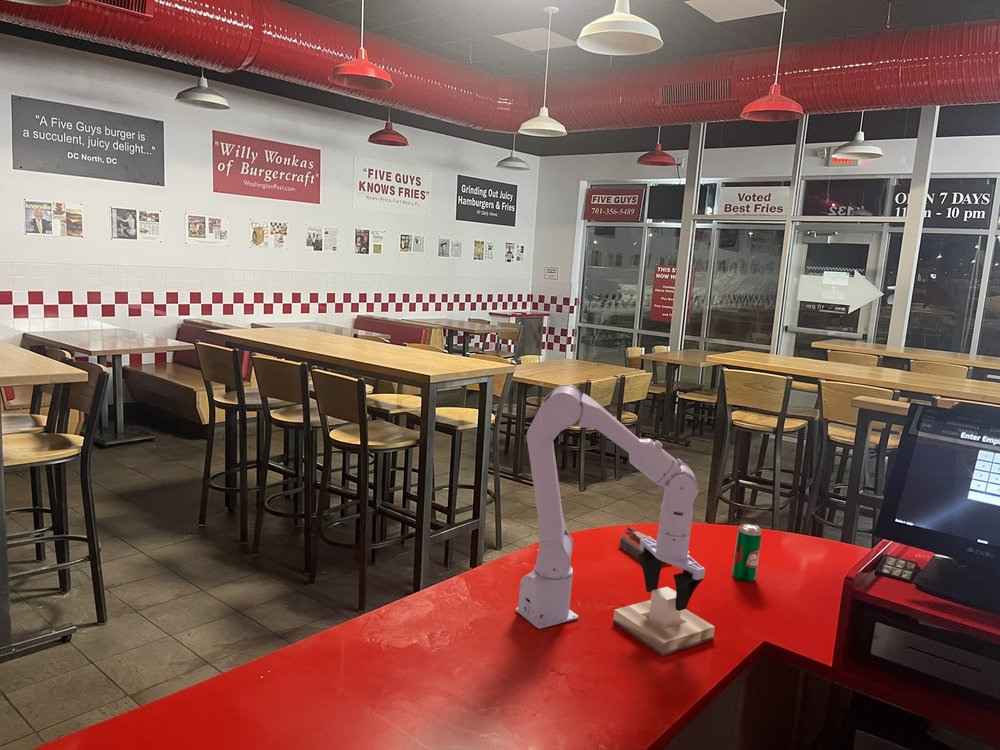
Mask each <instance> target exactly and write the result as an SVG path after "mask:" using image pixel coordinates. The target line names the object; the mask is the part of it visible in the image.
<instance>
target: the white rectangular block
mask: <svg viewBox="0 0 1000 750" xmlns="http://www.w3.org/2000/svg"><path fill="white" fill-rule="evenodd" d="M650 600H651V603H650V612H649V620H651V621H652V622H654V623H655V624H657V625H659V626H660V627H662V628H663V629H666V628H669V627H672V626H676V625H679V624H680V616H681V610H680V611H678V610H676V607H675V602H676V590H674V589H672V588H670V587H669V586H665V587H660V588H657V589H656V590H652V592H651V595H650Z"/></svg>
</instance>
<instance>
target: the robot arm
mask: <svg viewBox="0 0 1000 750" xmlns="http://www.w3.org/2000/svg"><path fill="white" fill-rule="evenodd" d="M577 421H578V426H577V427H578V428H593V429H596V431H598V432H600V433H601V434H603V436H605V437H607V439H609V440H611V442H613V443H615V445H617V446H619V447H620V448H621V449H623V450H624V451H625V452H626V453H628V458H629V459H628V462H629V463H630V464H631V466H634V467H635V469H637V471H639V472H641V473H642V474H643V475H645V476H646V477H647V478H648V479H649V480H651V481H652V482H653V483H654V484H655V485H657V486H661V487H663V496H662V497H663V498H662V502H661V505H660V514H659V520H658V529H657V538H656V541H657V542H656V541H653V540H651V539H649V538H646V539H641V540H640V548H639V549H641V550H642V551H644V552H643V553H642V554H639V555H638V559H637V560H638V562H639V563H640V566H641V570H642V573H643V577H644V583H645V589H646V592H647V593H652V590H656V589H658V587H659V582H660V575H661V570H662V568H663V564H664V563H663V562H666V563H665V564H669V565H671V566H674V567H675V568H677V569H679V570H680V571H682V572H679V573H676V574H674V575H673V579H674V583H675V591H676V602H675V607H676V610H678V611H680V610H684V609H686V610H687V608H688V605H689V602H690V600H691V598H692V596H693V594H694V592H695V590H696V588H698V586H699V585H700V583H701V582H703V580H704V578H705V573H706V568H705V567H704V566H703V565H700V564H699V563H698V562H697V561H696V560H695V559H694V558H692V556H691V555H690V554H691V553H690V552H691V551H689V546H690V538H691V530H692V523H693V522H692V521H693V515H694V514H693V513H694V508H693V506H694V504H695V503H694V502H695V499H696V498H697V496H698V495H699V491H700V490H699V487H698V482H697V479H696V476H695V473H694V472H693V469H691V468H690V467H689V465H688V464H687V463H684V462H683V460H681V459H680V458H677V459H676V458H675V457H673V456H672V454H670V453H669V452H667V451H666V450H665V449H663V443H662V442H660V441H659V440H658V439H657V440H655V441H654V440H652V439H651V438H639V437H638V436H636V435H635V434H634V433H633V432H632V431H631V430H630V429H628V428H627V427H626V426H625V425H624V424H623V423H622V422H620V421H619V420H618V419H617V418H616V417H615V416H613V415H612V414H611V413H610V412H609V411H608V410H607V409H606V408H605V407H603V406H602V405H601V404H599V403H598V402H597V400H596V401H595V400H594V399H593V398H592V397H591V396H589V395H588V394H586V393H581V391H580V389H578V388H577V387H576V386H574V385H572V384H568V383H567V384H560V385H558V386H556V387H555V388H554V389H552V391H551V392H549V393H548V394H547V395H546V396H545V398H544V399H543V401H542V403H541V405H540V407H539V409H538V411H537V412H536V414H535V416H534V418H533V420H532V422H531V424H530V426H529V428H527V431H526V441H527V449H528V456H529V462H530V471H531V478H532V483H533V484H532V485H533V492H534V498H535V505H536V513H537V520H538V545H539V550H538V553H537V556H536V563H535V565H534V569H533V570H532V571H531V572H529V573H527V574H526V575H525V574H524V576H522V578H521V580H520V582H519V595H518V606H517V607H516V608H515V611H516V612H517V613H518V614H519V615H521V616H522V617H523V618H524V619H525V620H527V621H528V622H529V623H530V624H531V625H533V626H534V627H535V628H537V629H538V630H541V629H544V628H548V627H551V626H555V625H558V624H563V623H566V622H570V621H574V620H577V619H579V615H578V614H576V613H575V612H574V611H572V610H571V609H570V607H571V606H570V605H571V595H572V584H573V573H574V569H573V567H572V565H571V563H572V561H571V558H572V552H573V550H574V540H573V538H572V536H571V535H570V534H569V531H568V530H567V529H568V528H567V523H566V520H565V517H564V512H563V506H562V498H561V497H562V496H561V490H560V483H559V474H558V468H557V462H556V453H555V446H554V445H555V444H554V440H555V439H556V438H557V436H558V435H559V434H561V432H562V431H564V430H566V429H568V428H570V427H571V426H574V425H575V424H576V423H577Z"/></svg>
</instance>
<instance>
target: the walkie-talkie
mask: <svg viewBox="0 0 1000 750" xmlns="http://www.w3.org/2000/svg"><path fill="white" fill-rule="evenodd" d="M626 530H627V531H628V532H630V533H629V534H627V535H626V534H625V535H621V536H620V539H619V548H621V547H622V548H623V549H622V548H621V549H622V550H624V549H625V550H626V551H627V552H626V551H625V550H624V551H625V552H626V553H628V554H629V553H630V554H631V555H630V554H629V555H630V556H632V557H633V558H635V560H638V555H639V554H642V553H643V552H644V551H642V550H641V549H639V548H640V540H641V539H646V538H649V539H651V540H653V541H656V542H657V539H655V538H653V537H652V536H651V535H646V534H644V533H643V532H641V531H639V530H638V531H636V529H634V528H632V527H631V526H627V527H626ZM663 564H667V563H666V562H663Z"/></svg>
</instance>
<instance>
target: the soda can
mask: <svg viewBox="0 0 1000 750" xmlns="http://www.w3.org/2000/svg"><path fill="white" fill-rule="evenodd" d="M761 531H762V529H761V527H759V526H758V525H756V524H752V523H751V524H750V523H740V525H739V528H738V529H737V534H736V543H735V550H734V557H733V565H732V572H731V575H732V576H733V578H734V579H736V580H737V581H740V582H744V583H751V582H752V583H753V582H754V581H755V580H756V578H757V574H758V573H757V572H758V565H759V557H760V550H761V543H762V536H763V534H762V532H761Z"/></svg>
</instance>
